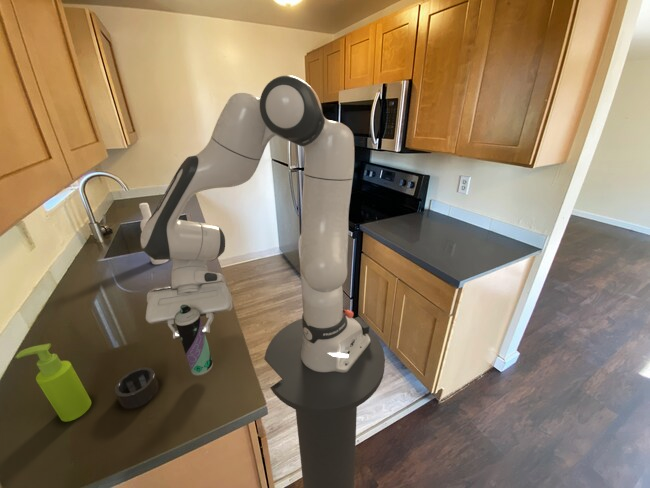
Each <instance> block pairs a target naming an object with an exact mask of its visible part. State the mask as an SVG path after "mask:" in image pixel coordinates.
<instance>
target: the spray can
mask: <svg viewBox="0 0 650 488" xmlns="http://www.w3.org/2000/svg"><path fill="white" fill-rule="evenodd" d="M180 308H181V310H180V311H179V312H178V313H177V314H176V315H175V317H174V318H175V323H176V325H175V327H176V329H177V330H178V332H179V335H180V338H179V339H180V341H181V344H182V347H183V350H184V354H185V357H186V360H187V363H188V366H189V369H190V372H191V374H192V375H194V376H202V375H205V374H207V373H209V372H210V370H212V368H213V366H214V362H213V358H212V355H211V351H210V348H209V343H208V340H207V336H206V333H205V334H204V333H202V330H203V329H202V326H204V325H203V321H202V318H201V316H200V314H199V312H198V309H196V308H191V307H189V306H188V305H182V306H181V307H180Z"/></svg>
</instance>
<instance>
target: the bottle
mask: <svg viewBox="0 0 650 488" xmlns="http://www.w3.org/2000/svg"><path fill="white" fill-rule="evenodd" d="M138 206H139V209H140V212H141V216H142V219H141V221H140V224H139V225H140V230H141V231H142V230H143V228H144V226H145V225H146V223H147V221H148V220H149V218H150V217H151V216H152V215H153V214H152V212H151V208H150V205H149V203H148V202H141V203H139V204H138ZM149 259H150V262H151V264H153V265H162V264H165V263H167V262H168V261H170V259H168V260H154V259H153V258H151V257H150V256H149Z"/></svg>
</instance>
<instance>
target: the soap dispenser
mask: <svg viewBox="0 0 650 488" xmlns="http://www.w3.org/2000/svg"><path fill="white" fill-rule="evenodd" d="M51 347H52V343H45V344H39V345H34V346H30V347H27V348H24V349H22V350H19V352H18V353H17V354H16V356H14V359H21V358H23V357H27V356H31V355H36V356H37V358H39V359H38V360H37V361H36V363H35V364H36V366H37V368H38V369H39V372H38V373H37V375H36V376H35V381H36V383H37V384H38V386H39V388H40V389H41V390H42V392H43V394H44V396H45V397H46V399H47V400H48V402H49V403H50V405H51V407H52V408H53V410H54V411H55V413H56V415H57V417H58V418H59V419H60V421H62V422H66V423H67V422H72V421H74V420H76V419H78V418H80V417H82V416H83V415H84V414H86V412H87V411H88V410H90V408H91V406H92V399H91V398H90V396H89V394H88V392H87V391H86V389H85V387H84V385H83V383H82V381H81V380H80V378H79V376H78V373H76V370H75V369H74V366H73V365H72V362H71V361H69V360H61V359H60V357H59V355H58V354H57V353H50V351H49V350H50V348H51Z"/></svg>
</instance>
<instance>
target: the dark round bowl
mask: <svg viewBox="0 0 650 488" xmlns="http://www.w3.org/2000/svg"><path fill="white" fill-rule="evenodd" d="M159 388H160V384H159V381H158V379H157V376H156V373H155V371H154V369H153V368H150V367H140V368H136V369H133V370H131V371H129V372H127V373H126V374H125V375H124V376H121V378H120V379H119V380H118V381H117V383H116V384H115V386H114V393H115V396H116V398H117V400H118V402H119V404H120V405H121V407H122V408H123V409H126V410H132V409H137V408H140V407H142V406H145V405H146V404H147V403H149V402H150V401H151V400H152V399H153V398H154V397H155V396H156V395H157V393H158V391H159Z"/></svg>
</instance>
